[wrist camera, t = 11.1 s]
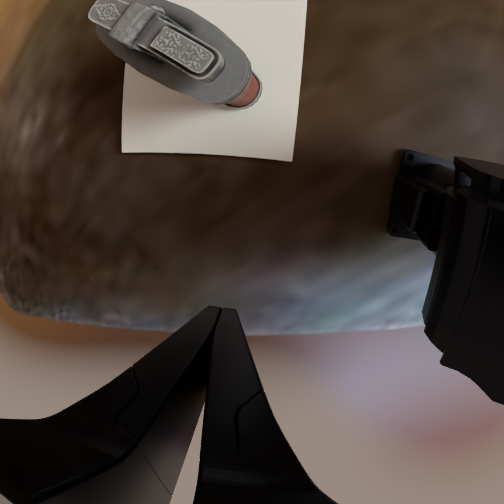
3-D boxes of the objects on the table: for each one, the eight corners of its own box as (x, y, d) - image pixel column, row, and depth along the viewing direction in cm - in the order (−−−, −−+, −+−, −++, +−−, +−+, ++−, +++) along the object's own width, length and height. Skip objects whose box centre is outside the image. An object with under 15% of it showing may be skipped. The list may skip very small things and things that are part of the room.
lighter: (148, 59, 15) (48, 32, 6) (178, 21, 14) (96, -36, 5) (240, 121, 17) (195, 125, 8) (274, 81, 15) (266, 40, 7)
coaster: (306, 0, 13) (307, -6, 12) (291, 159, 19) (292, 161, 18) (140, 5, 14) (134, 1, 13) (128, 150, 19) (121, 152, 18)
